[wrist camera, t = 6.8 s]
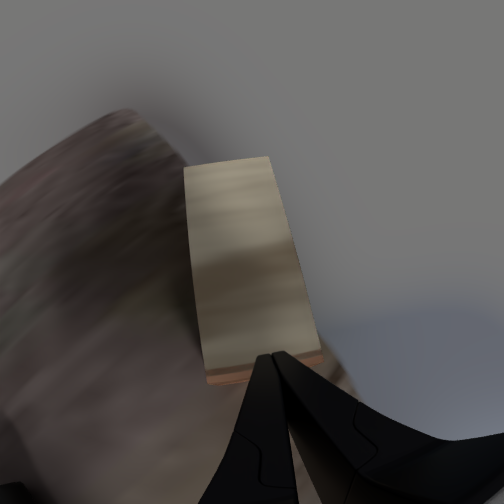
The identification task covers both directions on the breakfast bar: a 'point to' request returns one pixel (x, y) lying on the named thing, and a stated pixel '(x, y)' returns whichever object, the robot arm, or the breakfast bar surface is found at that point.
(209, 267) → the beech block
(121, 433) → the breakfast bar surface
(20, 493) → the end cap
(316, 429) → the robot arm
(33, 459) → the breakfast bar surface
